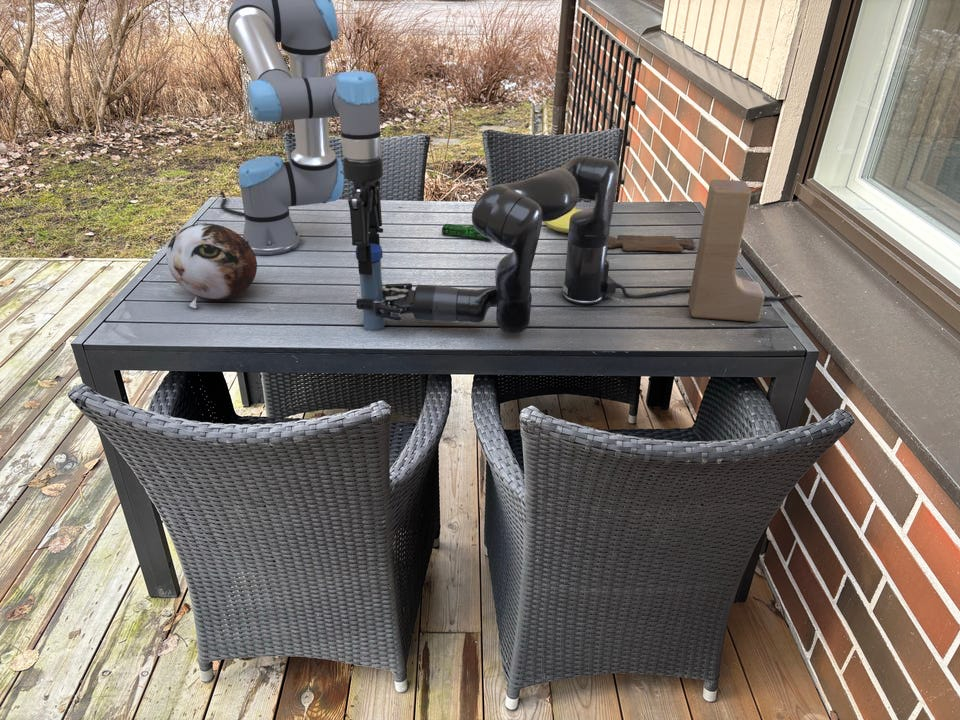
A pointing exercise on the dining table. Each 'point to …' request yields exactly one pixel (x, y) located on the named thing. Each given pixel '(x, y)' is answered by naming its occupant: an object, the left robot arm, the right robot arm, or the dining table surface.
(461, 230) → the handgun
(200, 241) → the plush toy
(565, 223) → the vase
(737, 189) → the decorative block
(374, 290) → the blue-grey bottle
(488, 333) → the dining table surface
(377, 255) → the lid
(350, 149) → the left robot arm
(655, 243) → the wooden paddle board
